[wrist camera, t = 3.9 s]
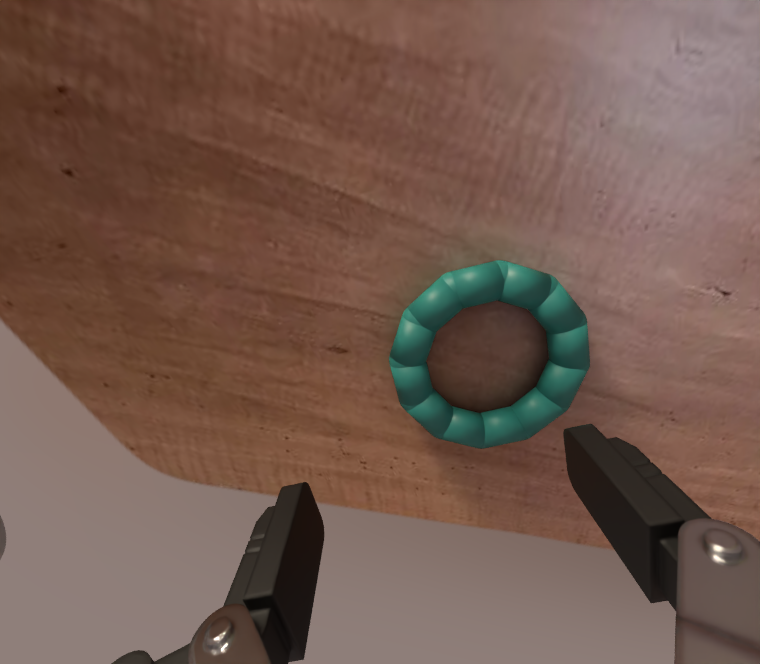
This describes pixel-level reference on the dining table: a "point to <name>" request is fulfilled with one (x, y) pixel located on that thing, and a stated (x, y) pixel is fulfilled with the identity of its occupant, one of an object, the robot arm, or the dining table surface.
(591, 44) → the dining table surface
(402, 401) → the ring
